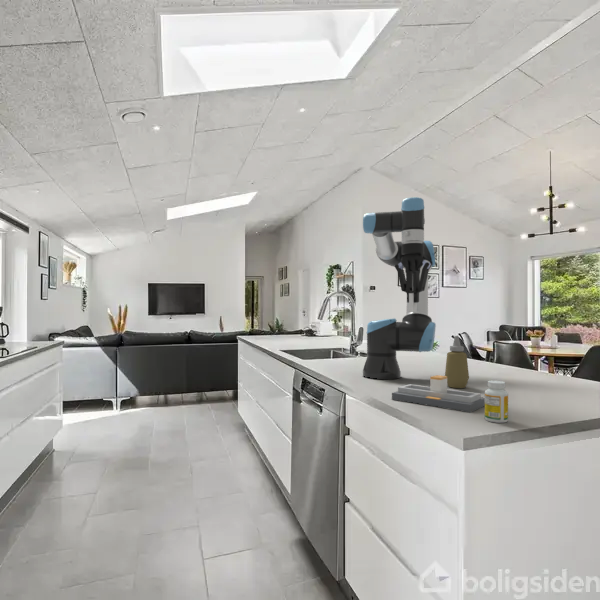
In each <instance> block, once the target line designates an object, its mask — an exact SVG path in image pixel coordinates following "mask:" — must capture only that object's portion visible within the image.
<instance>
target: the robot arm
mask: <svg viewBox="0 0 600 600" xmlns="http://www.w3.org/2000/svg"><path fill="white" fill-rule="evenodd" d="M425 221H426V220H425V202H424V199H423V198H422V197H418V196H417V197H413V196H412V197H406V198H404V199H402V202H401V211H399V210H398V211H384V212H383V211H382V212H380V211H379V212H378V211H377V212H369V213H365V214H364V215H363V218H362V229H363V232H364V233H365V234H371V235H372V237H373V241H374V243H375V246H376V247H375V253H376V255H377V257H378V259H379V260H380V261H382V262H383V263H384V264H386V265H388V266H391V267H394V268H395V270H396V271H397V276H398V280H399V284H400V290H401V292H404V293H406V314H405V315H403V317H402V319H401V320H402V321H397V319H396V318H395V317H393V318H386V319H385V318H384V319H378V320H371V321H369V322H368V323H367V325H366V326H367V327H366V328H367V329H366V359H365V362H364V365H363V369H362V377H364V376H365V377H364V378H366V377H370V378H369V379H373V378H377V379H376V380H396V379H401V376H402V372H401V369H400V366H399V363H398V360H397V352H416V353H417V352H419V353H425V352H431V351H432V350H433V349H434V343H435V339H436V338H435V337H436V327H437V325H436V323H435V322H434V321H433V320H432V318H431V316H430V315H429V272H430V271H431V270H432V267H435V266H436V256H435V249H434V244H433V242H432V241H431V240H425ZM393 233H401V241H395V239H394V236H393ZM404 270H405V271H404Z"/></svg>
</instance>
